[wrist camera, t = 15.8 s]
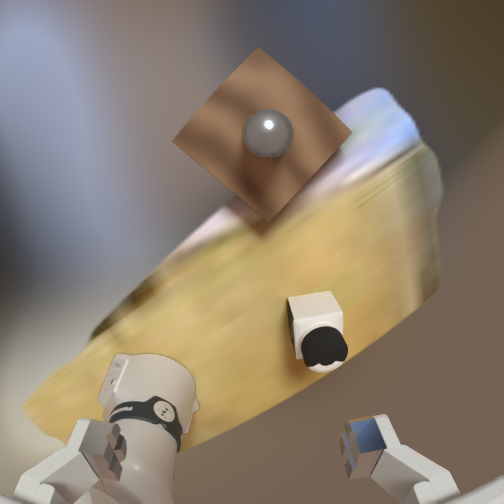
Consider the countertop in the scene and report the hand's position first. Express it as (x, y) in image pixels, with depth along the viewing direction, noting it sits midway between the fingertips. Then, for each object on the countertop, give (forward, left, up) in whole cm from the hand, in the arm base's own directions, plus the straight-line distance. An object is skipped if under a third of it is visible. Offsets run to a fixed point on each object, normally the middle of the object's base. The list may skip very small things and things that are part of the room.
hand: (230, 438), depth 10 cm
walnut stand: (+10, +4, -37) cm, 39 cm away
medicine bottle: (-5, -20, -37) cm, 43 cm away
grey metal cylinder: (+10, +4, -33) cm, 35 cm away
